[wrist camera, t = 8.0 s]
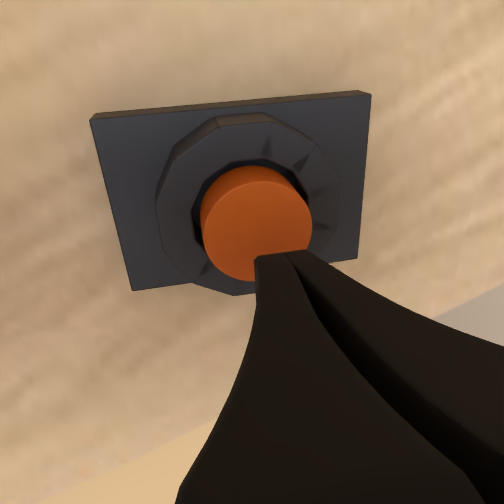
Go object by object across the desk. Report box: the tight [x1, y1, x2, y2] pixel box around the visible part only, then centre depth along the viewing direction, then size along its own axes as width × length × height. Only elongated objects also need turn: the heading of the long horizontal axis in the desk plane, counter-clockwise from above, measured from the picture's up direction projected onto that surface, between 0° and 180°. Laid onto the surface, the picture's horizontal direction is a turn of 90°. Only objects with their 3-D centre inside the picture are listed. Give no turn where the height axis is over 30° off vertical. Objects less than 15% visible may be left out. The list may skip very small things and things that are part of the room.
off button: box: [200, 165, 312, 281], centre depth 13 cm, size 4×4×2 cm
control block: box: [89, 90, 372, 296], centre depth 15 cm, size 10×7×3 cm
